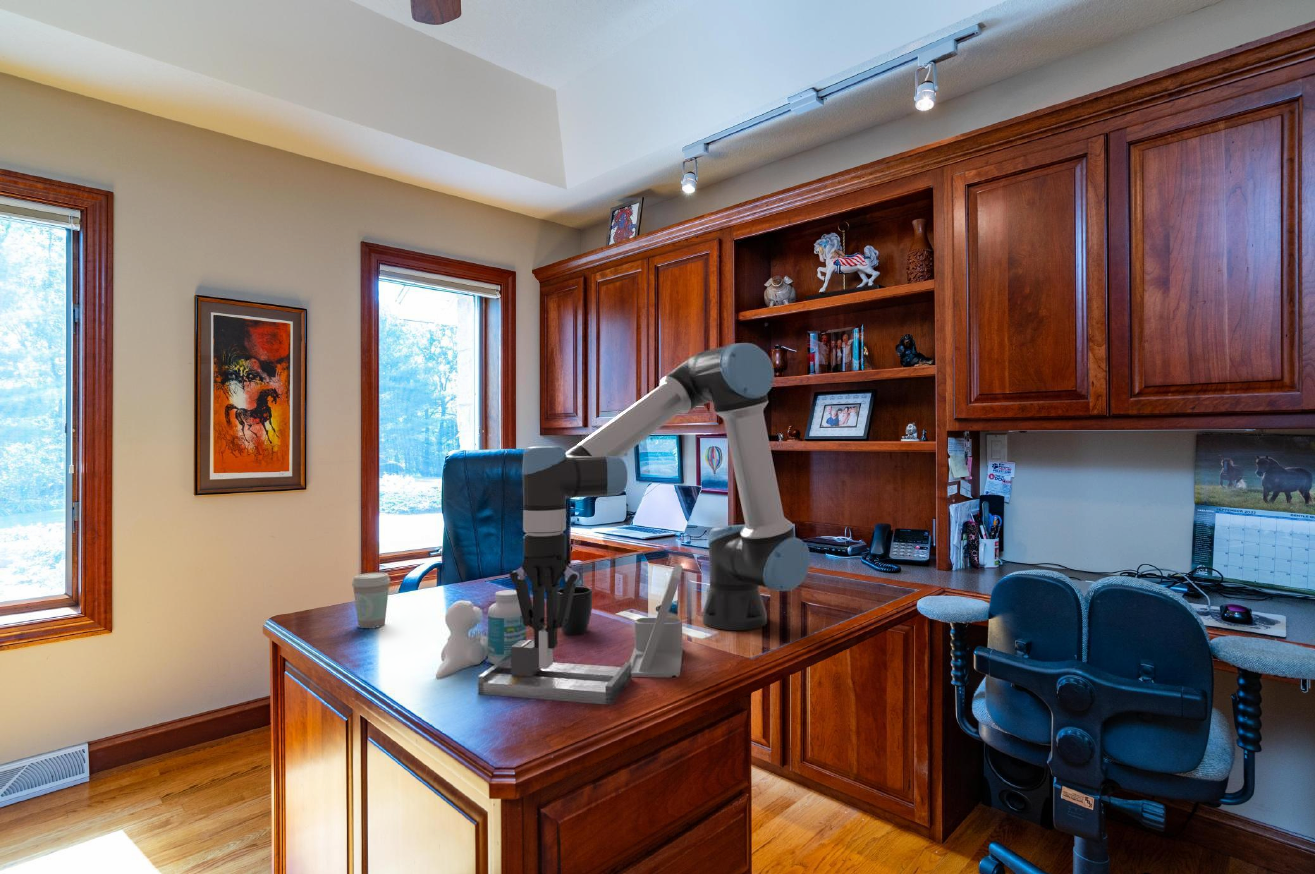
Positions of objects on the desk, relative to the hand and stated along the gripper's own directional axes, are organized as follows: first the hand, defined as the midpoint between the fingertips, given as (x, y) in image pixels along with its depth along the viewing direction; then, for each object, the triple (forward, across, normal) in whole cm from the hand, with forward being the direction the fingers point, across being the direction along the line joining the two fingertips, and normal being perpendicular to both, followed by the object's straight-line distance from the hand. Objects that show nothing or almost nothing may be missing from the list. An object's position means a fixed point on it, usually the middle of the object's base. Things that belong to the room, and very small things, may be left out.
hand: (546, 665), depth 114 cm
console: (+4, -2, 0) cm, 4 cm away
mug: (+4, +7, -34) cm, 35 cm away
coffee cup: (+4, +57, -28) cm, 64 cm away
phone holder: (+4, -16, -16) cm, 23 cm away
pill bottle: (+4, +13, -11) cm, 17 cm away
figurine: (+4, +21, -8) cm, 23 cm away
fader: (+2, +4, 0) cm, 4 cm away
